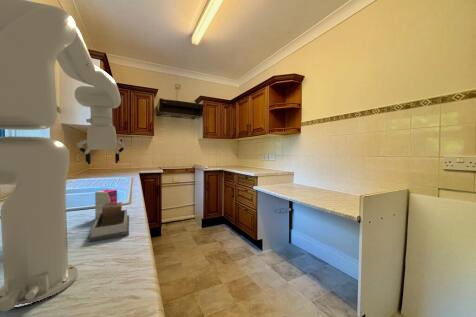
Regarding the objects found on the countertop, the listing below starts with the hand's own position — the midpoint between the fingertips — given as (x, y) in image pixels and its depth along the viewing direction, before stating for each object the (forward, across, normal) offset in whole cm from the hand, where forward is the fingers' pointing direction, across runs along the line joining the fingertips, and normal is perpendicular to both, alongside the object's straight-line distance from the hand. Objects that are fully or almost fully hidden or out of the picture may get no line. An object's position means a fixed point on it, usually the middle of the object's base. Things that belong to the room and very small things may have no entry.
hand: (103, 163), depth 85 cm
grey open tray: (+23, +3, -17) cm, 29 cm away
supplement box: (+23, +1, -1) cm, 23 cm away
